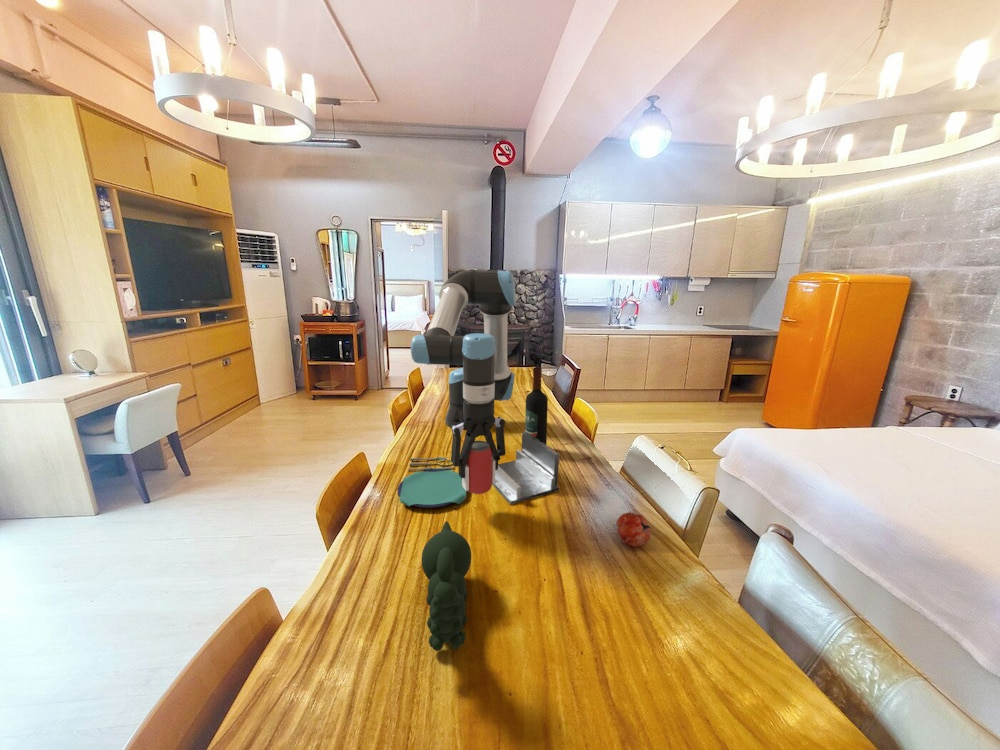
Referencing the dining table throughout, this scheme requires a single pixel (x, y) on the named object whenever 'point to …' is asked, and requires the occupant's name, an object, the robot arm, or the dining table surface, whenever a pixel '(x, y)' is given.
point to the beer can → (480, 467)
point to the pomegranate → (633, 529)
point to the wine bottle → (536, 409)
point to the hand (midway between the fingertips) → (478, 484)
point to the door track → (528, 472)
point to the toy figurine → (446, 586)
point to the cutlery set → (431, 486)
